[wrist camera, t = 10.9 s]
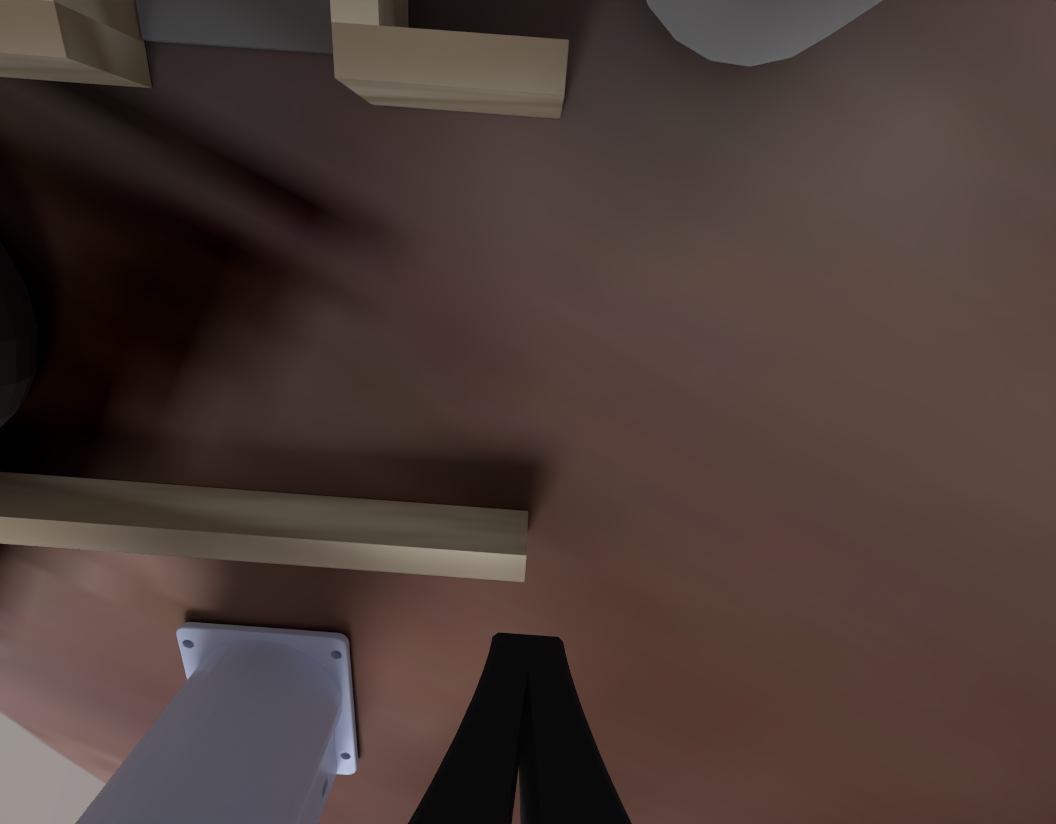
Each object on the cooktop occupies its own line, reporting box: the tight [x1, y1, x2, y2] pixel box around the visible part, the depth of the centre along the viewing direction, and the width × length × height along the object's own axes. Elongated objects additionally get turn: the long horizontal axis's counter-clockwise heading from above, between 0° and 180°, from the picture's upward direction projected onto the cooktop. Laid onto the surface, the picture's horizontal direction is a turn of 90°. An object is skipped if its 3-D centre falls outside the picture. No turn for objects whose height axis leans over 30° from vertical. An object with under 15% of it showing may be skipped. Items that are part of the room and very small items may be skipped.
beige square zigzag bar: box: [0, 0, 569, 582], centre depth 16 cm, size 22×31×3 cm
